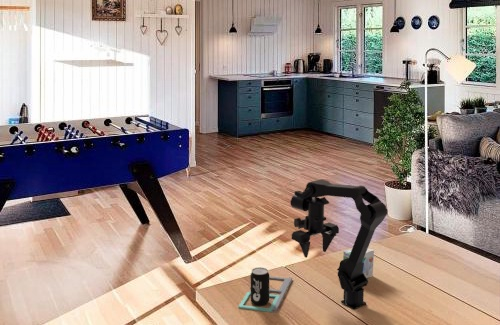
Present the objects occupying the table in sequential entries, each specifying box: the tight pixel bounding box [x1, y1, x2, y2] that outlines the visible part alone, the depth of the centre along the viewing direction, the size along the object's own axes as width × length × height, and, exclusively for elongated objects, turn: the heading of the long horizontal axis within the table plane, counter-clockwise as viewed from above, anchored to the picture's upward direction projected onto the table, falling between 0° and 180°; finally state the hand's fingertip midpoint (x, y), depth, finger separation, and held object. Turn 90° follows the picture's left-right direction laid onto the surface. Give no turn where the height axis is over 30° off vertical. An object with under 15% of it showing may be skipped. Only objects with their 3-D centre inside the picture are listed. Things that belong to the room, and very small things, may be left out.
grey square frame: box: [249, 275, 289, 294], centre depth 209 cm, size 12×12×1 cm
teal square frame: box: [237, 291, 280, 313], centre depth 195 cm, size 12×12×1 cm
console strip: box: [269, 277, 293, 313], centre depth 202 cm, size 27×9×1 cm, turn 164°
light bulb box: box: [342, 247, 375, 279], centre depth 215 cm, size 11×7×11 cm, turn 126°
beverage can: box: [250, 267, 270, 307], centre depth 194 cm, size 7×7×12 cm
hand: (315, 254), depth 204 cm, fingers open, 9 cm apart
